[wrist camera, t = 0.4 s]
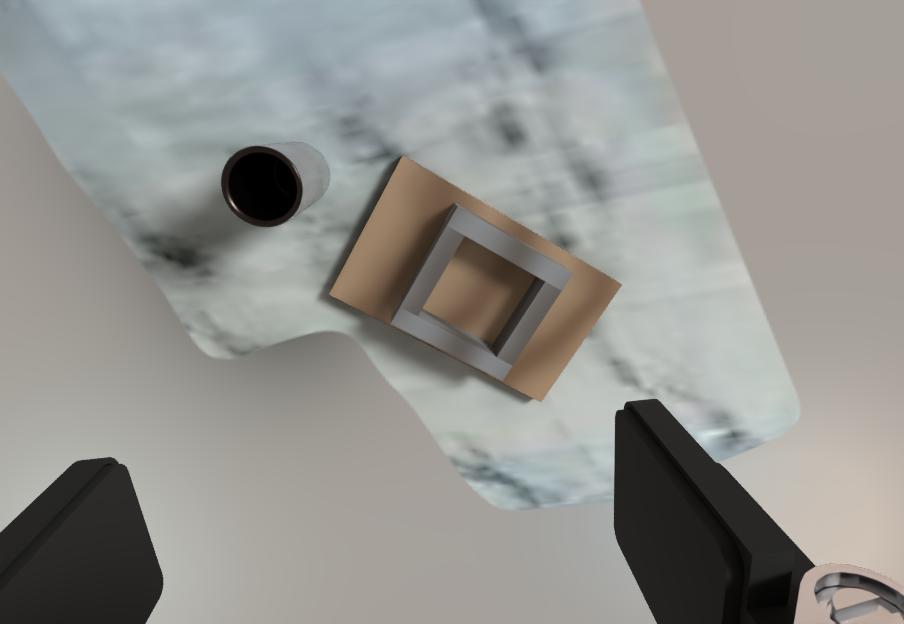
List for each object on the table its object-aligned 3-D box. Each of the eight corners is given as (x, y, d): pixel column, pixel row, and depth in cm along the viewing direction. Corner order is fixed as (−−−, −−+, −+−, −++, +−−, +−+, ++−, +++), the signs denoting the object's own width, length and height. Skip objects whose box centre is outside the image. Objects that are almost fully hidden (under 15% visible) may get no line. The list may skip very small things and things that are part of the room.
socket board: (331, 290, 43) (323, 304, 39) (402, 155, 40) (401, 157, 36) (538, 395, 47) (547, 417, 43) (616, 281, 44) (634, 293, 40)
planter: (282, 211, 41) (239, 237, 31) (258, 151, 39) (206, 159, 29) (339, 194, 40) (314, 214, 31) (317, 134, 39) (284, 135, 29)
